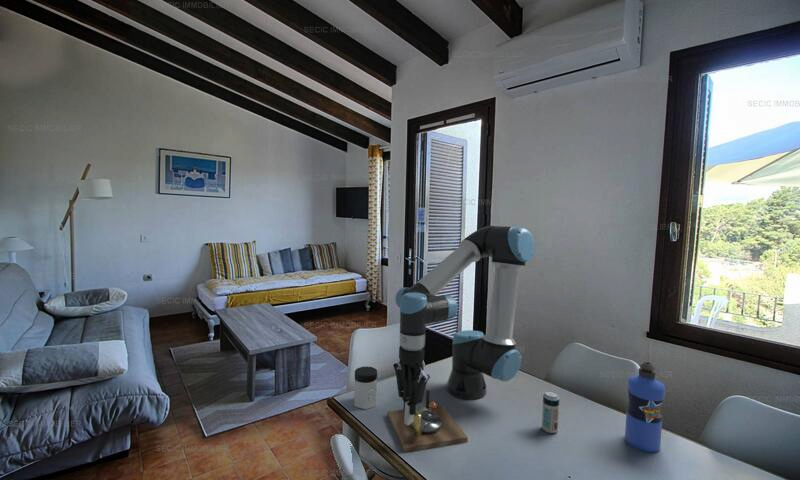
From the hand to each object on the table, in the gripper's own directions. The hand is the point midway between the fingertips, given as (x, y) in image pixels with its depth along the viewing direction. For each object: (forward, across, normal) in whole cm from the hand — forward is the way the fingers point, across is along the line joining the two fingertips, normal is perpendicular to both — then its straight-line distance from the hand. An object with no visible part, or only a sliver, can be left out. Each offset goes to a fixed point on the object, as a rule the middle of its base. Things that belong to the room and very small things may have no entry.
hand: (409, 422), depth 110 cm
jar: (+7, -26, +5) cm, 28 cm away
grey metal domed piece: (+4, -1, +9) cm, 10 cm away
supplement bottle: (+6, +27, +38) cm, 47 cm away
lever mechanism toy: (+6, -2, +9) cm, 11 cm away
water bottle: (+5, +49, +52) cm, 72 cm away
